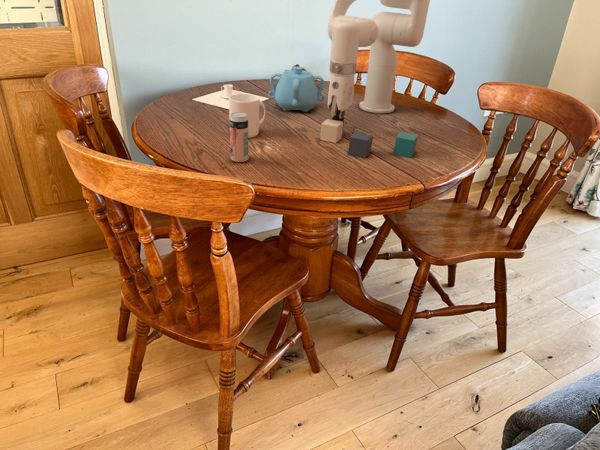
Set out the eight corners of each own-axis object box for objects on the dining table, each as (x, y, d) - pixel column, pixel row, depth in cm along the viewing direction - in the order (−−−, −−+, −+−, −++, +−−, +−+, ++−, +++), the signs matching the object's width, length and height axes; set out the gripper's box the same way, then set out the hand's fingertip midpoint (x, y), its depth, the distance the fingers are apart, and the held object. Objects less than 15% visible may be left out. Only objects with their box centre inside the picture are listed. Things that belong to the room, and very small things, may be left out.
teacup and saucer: (245, 96, 170) (245, 85, 168) (231, 101, 164) (231, 89, 162) (227, 92, 174) (227, 81, 172) (213, 96, 168) (212, 85, 166)
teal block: (397, 148, 133) (400, 131, 130) (415, 151, 131) (418, 134, 129) (393, 154, 129) (396, 137, 127) (411, 157, 127) (414, 140, 125)
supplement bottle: (230, 155, 122) (229, 111, 116) (248, 156, 123) (248, 111, 116) (229, 163, 118) (228, 117, 112) (248, 163, 119) (248, 117, 112)
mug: (274, 133, 139) (274, 97, 133) (240, 140, 132) (240, 103, 126) (257, 125, 144) (257, 90, 139) (224, 132, 137) (223, 96, 132)
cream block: (326, 134, 140) (327, 118, 137) (341, 137, 138) (343, 121, 136) (320, 139, 136) (321, 123, 133) (335, 143, 134) (337, 126, 132)
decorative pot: (263, 104, 164) (264, 64, 157) (300, 98, 172) (302, 60, 165) (290, 117, 153) (291, 75, 146) (328, 110, 161) (331, 70, 154)
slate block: (353, 148, 131) (355, 131, 129) (370, 152, 130) (373, 135, 127) (348, 154, 127) (349, 137, 125) (365, 158, 126) (367, 140, 123)
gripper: (346, 75, 124) (340, 140, 133) (363, 65, 135) (356, 125, 145) (320, 71, 126) (316, 135, 136) (339, 61, 138) (334, 121, 147)
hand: (337, 130), depth 140 cm, fingers closed
